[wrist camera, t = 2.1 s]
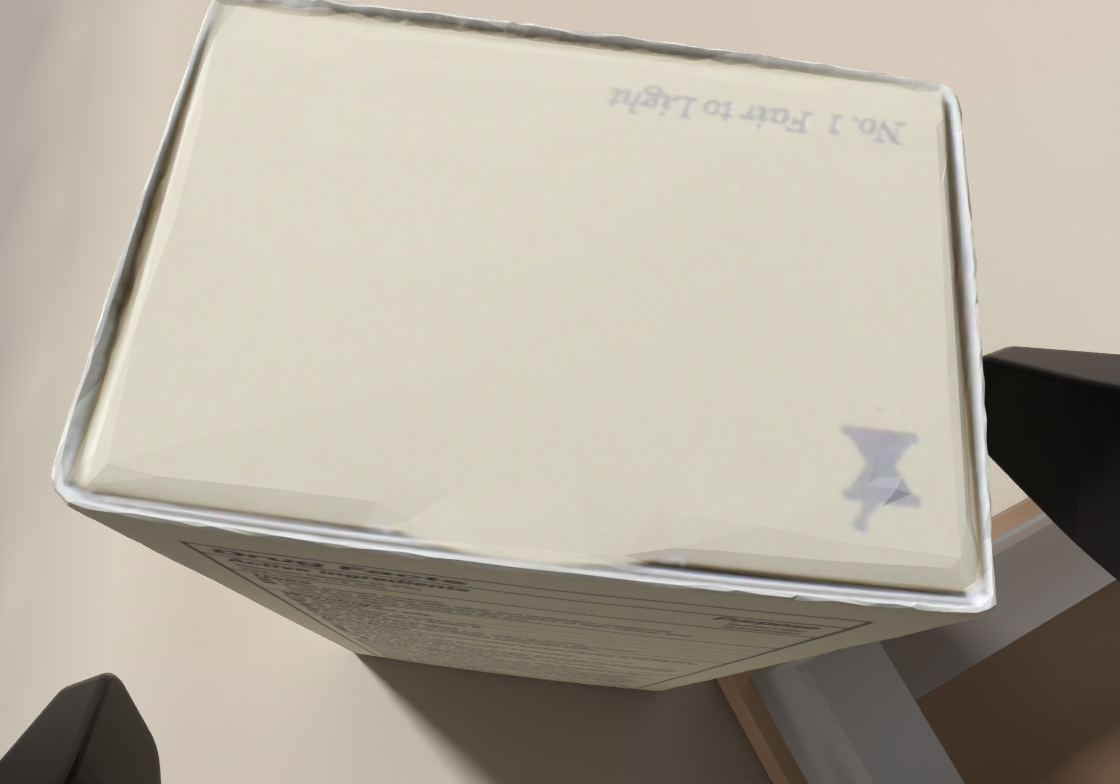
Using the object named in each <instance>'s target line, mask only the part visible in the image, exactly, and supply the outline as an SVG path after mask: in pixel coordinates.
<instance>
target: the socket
mask: <svg viewBox="0 0 1120 784" xmlns="http://www.w3.org/2000/svg"><path fill="white" fill-rule="evenodd" d="M991 544H992V555H993V566H994V576H995V589H996V603H997V604H996V608H995V609H994V610H992V611H991V612H990V613H988V614H987V615H985V616H983V617H980V618H977V619H973V620H968V621H964V622H959V623H954V624H950V625H945V626H941V627H937V628H933V629H928V630H924V631H920V632H916V633H912V634H909V635H905V636H901V637H896V638H891V639H886V640H881V641H877V642H872V643H867V644H862V645H857V646H852V647H847V648H842V649H838V650H835V651H832V652H829V653H825V654H820V655H815V656H810V657H807V658H803V659H799V660H794V661H789V662H785V663H780V664H776V665H772V666H768V667H764V668H759V669H753V670H749V671H745V672H741V673H737V674H733V675H728V676H724V677H721V678H716V680H717V682H718V684H719V685H720V687H721V689H722V691H723V693H724V695H725V697H726V698H727V700H728V702H729V704H730V706H731V708H732V709H733V711H734V713H735V715H736V717H737V719H738V721H739V722H740V724H741V726H742V728H743V730H744V732H745V734H746V735H747V737H748V739H749V741H750V743H751V745H752V747H753V748H754V750H755V752H756V754H757V756H758V758H759V760H760V761H761V763H762V765H763V767H764V769H765V771H766V773H767V774H768V776H769V778H770V780H771V782H772V784H1120V582H1119V581H1118V580H1117V579H1115V578H1114V577H1113V576H1112V575H1111V574H1109V573H1108V572H1107V571H1106V570H1105V569H1104V568H1102V567H1101V566H1100V565H1099V564H1098V563H1097V562H1095V561H1094V560H1093V559H1092V558H1091V557H1090V556H1088V555H1087V554H1086V553H1085V552H1084V551H1083V550H1082V549H1081V548H1079V547H1078V546H1077V545H1076V544H1075V543H1074V542H1073V541H1072V540H1071V539H1070V538H1069V537H1068V536H1067V535H1066V534H1065V533H1064V532H1063V531H1062V530H1061V529H1060V528H1059V527H1058V526H1057V525H1056V524H1055V523H1054V522H1053V521H1052V520H1051V519H1050V518H1049V517H1048V516H1047V515H1046V514H1045V513H1044V512H1043V511H1042V510H1041V509H1040V508H1039V507H1038V506H1037V505H1036V504H1035V503H1034V502H1033V501H1032V500H1031V499H1030V498H1029V497H1028V498H1027V499H1025V500H1023V501H1021V502H1019V503H1018V504H1016V505H1014V506H1012V507H1010V508H1009V509H1007V510H1005V511H1003V512H1001V513H1000V514H998V515H996V516H994V517H992V518H991Z"/></svg>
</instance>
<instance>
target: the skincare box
mask: <svg viewBox="0 0 1120 784" xmlns="http://www.w3.org/2000/svg"><path fill="white" fill-rule="evenodd" d="M976 266H977V261H976V254H975V247H974V235H973V226H972V215H971V205H970V196H969V186H968V176H967V167H966V157H965V147H964V139H963V132H962V111H961V107H960V104H959V100H958V97H957V96H956V94H955V93H954V91H953V90H952V89H951V88H950V87H948V86H946V85H943V84H939V83H935V82H931V81H927V80H921V79H913V78H906V77H898V76H891V75H886V74H882V73H877V72H872V71H866V70H857V69H851V68H845V67H840V66H834V65H828V64H823V63H817V62H812V61H801V60H795V59H790V58H778V57H770V56H764V55H757V54H751V53H744V52H738V51H732V50H726V49H710V48H705V47H697V46H691V45H687V44H681V43H673V42H664V41H656V40H648V39H642V38H635V37H629V36H623V35H616V34H603V33H591V32H583V31H575V30H567V29H561V28H556V27H551V26H545V25H540V24H535V23H529V24H517V23H514V22H511V21H499V20H492V19H484V18H476V17H469V16H462V15H455V14H448V13H439V12H431V11H424V10H410V9H397V8H390V7H383V6H376V5H369V4H361V3H354V2H344V1H334V0H212V2H211V4H210V5H209V7H208V9H207V12H206V14H205V17H204V20H203V23H202V26H201V29H200V31H199V34H198V36H197V39H196V42H195V45H194V48H193V52H192V55H191V58H190V60H189V63H188V66H187V69H186V71H185V74H184V77H183V80H182V82H181V85H180V88H179V91H178V93H177V96H176V99H175V101H174V104H173V106H172V109H171V112H170V115H169V118H168V121H167V124H166V127H165V130H164V133H163V136H162V139H161V142H160V145H159V147H158V150H157V153H156V155H155V158H154V161H153V163H152V166H151V170H150V173H149V176H148V179H147V181H146V184H145V186H144V189H143V192H142V194H141V197H140V200H139V203H138V206H137V210H136V213H135V216H134V220H133V223H132V226H131V229H130V232H129V234H128V237H127V240H126V242H125V245H124V248H123V251H122V254H121V256H120V259H119V262H118V265H117V268H116V271H115V274H114V276H113V279H112V282H111V285H110V288H109V291H108V294H107V296H106V300H105V303H104V306H103V309H102V313H101V316H100V319H99V322H98V326H97V329H96V332H95V335H94V339H93V342H92V345H91V348H90V352H89V355H88V358H87V361H86V365H85V368H84V371H83V374H82V376H81V379H80V382H79V384H78V387H77V390H76V393H75V396H74V399H73V402H72V405H71V408H70V411H69V414H68V417H67V421H66V424H65V427H64V430H63V433H62V437H61V440H60V443H59V447H58V450H57V453H56V456H55V460H54V463H53V467H52V473H51V480H52V483H53V487H54V490H55V491H56V492H57V493H58V495H59V496H60V497H61V498H62V500H63V501H64V502H65V503H66V504H67V506H69V507H71V508H73V509H74V510H76V511H78V512H80V513H82V514H84V515H85V516H87V517H89V518H92V519H94V520H96V521H98V522H100V523H102V524H104V525H106V526H108V527H109V528H111V529H113V530H115V531H117V532H119V533H121V534H123V535H125V536H127V537H128V538H130V539H133V540H135V541H137V542H140V543H141V544H143V545H145V546H147V547H148V548H150V549H152V550H154V551H156V552H158V553H160V554H162V555H164V556H166V557H168V558H170V559H172V560H174V561H176V562H178V563H180V564H182V565H184V566H186V567H188V568H190V569H192V570H194V571H196V572H198V573H200V574H202V575H204V576H206V577H209V578H211V579H213V580H215V581H216V582H218V583H220V584H222V585H224V586H226V587H228V588H230V589H232V590H234V591H235V592H237V593H239V594H242V595H243V596H245V597H247V598H249V599H251V600H253V601H255V602H257V603H258V604H260V605H262V606H264V607H266V608H268V609H270V610H272V611H274V612H276V613H278V614H279V615H281V616H283V617H285V618H287V619H289V620H291V621H293V622H295V623H297V624H299V625H301V626H303V627H305V628H307V629H309V630H311V631H313V632H315V633H317V634H319V635H321V636H323V637H325V638H327V639H329V640H331V641H333V642H335V643H337V644H339V645H341V646H342V647H344V648H346V649H348V650H350V651H352V652H355V653H357V654H364V655H371V656H378V657H384V658H390V659H397V660H403V661H410V662H417V663H423V664H430V665H437V666H444V667H452V668H459V669H467V670H474V671H482V672H489V673H497V674H505V675H514V676H522V677H530V678H538V679H545V680H554V681H563V682H572V683H580V684H589V685H600V686H610V687H620V688H630V689H641V690H651V691H663V690H667V689H671V688H676V687H680V686H684V685H689V684H693V683H697V682H701V681H707V680H712V679H715V678H721V677H724V676H728V675H733V674H737V673H741V672H745V671H749V670H753V669H759V668H764V667H768V666H772V665H776V664H780V663H785V662H789V661H794V660H799V659H803V658H807V657H810V656H815V655H820V654H825V653H829V652H832V651H835V650H838V649H842V648H847V647H852V646H857V645H862V644H867V643H872V642H877V641H881V640H886V639H891V638H896V637H901V636H905V635H909V634H912V633H916V632H920V631H924V630H928V629H933V628H937V627H941V626H945V625H950V624H954V623H959V622H964V621H968V620H973V619H977V618H980V617H983V616H985V615H987V614H988V613H990V612H991V611H992V610H994V609H995V608H996V604H997V603H996V589H995V576H994V566H993V555H992V544H991V495H990V485H989V460H988V451H987V443H986V433H987V417H986V411H985V405H984V398H985V381H984V373H983V363H982V350H981V338H980V325H979V310H978V299H977V283H976Z"/></svg>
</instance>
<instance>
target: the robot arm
mask: <svg viewBox="0 0 1120 784" xmlns="http://www.w3.org/2000/svg"><path fill="white" fill-rule="evenodd" d="M982 363H983V373H984V381H985V398H984V405H985V411H986V417H987V433H986V443H987V451H988V455H989V456H990V457H991V458H992V459H993V460H994V461H995V462H996V464H997V465H998V466H999V467H1000V468H1001V469H1002V470H1003V471H1004V472H1005V473H1006V474H1007V475H1008V476H1009V477H1010V478H1011V479H1012V480H1013V481H1014V482H1015V483H1016V484H1017V485H1018V486H1019V487H1020V488H1021V489H1022V490H1023V491H1024V492H1025V493H1026V494H1027V495H1028V496H1029V498H1030V499H1031V500H1032V501H1033V502H1034V503H1035V504H1036V505H1037V506H1038V507H1039V508H1040V509H1041V510H1042V511H1043V512H1044V513H1045V514H1046V515H1047V516H1048V517H1049V518H1050V519H1051V520H1052V521H1053V522H1054V523H1055V524H1056V525H1057V526H1058V527H1059V528H1060V529H1061V530H1062V531H1063V532H1064V533H1065V534H1066V535H1067V536H1068V537H1069V538H1070V539H1071V540H1072V541H1073V542H1074V543H1075V544H1076V545H1077V546H1078V547H1079V548H1081V549H1082V550H1083V551H1084V552H1085V553H1086V554H1087V555H1088V556H1090V557H1091V558H1092V559H1093V560H1094V561H1095V562H1097V563H1098V564H1099V565H1100V566H1101V567H1102V568H1104V569H1105V570H1106V571H1107V572H1108V573H1109V574H1111V575H1112V576H1113V577H1114V578H1115V579H1117V580H1118V581H1119V582H1120V355H1119V354H1107V353H1094V352H1081V351H1068V350H1056V349H1043V348H1030V347H1017V346H1012V347H1007V348H1003V349H1001V350H998V351H995V352H993V353H990V354H987V355H984V356H982ZM0 784H161V774H160V762H159V756H158V751H157V747H156V744H155V741H154V739H153V736H152V734H151V732H150V731H149V729H148V727H147V725H146V724H145V722H144V720H143V718H142V716H141V715H140V713H139V711H138V709H137V707H136V706H135V704H134V702H133V700H132V699H131V697H130V695H129V693H128V691H127V690H126V688H125V686H124V684H123V683H122V681H121V680H120V679H119V678H118V677H117V676H116V675H114V674H111V673H103V674H100V675H97V676H95V677H92V678H89V679H86V680H84V681H81V682H78V683H75V684H72V685H70V686H67V687H65V688H64V689H62V690H61V691H60V692H59V693H58V694H57V695H56V696H55V697H54V699H53V700H52V701H51V702H50V703H49V704H48V705H47V707H46V708H45V709H44V710H43V711H42V712H41V714H40V715H39V716H38V717H37V718H36V719H35V721H34V722H33V723H32V724H31V725H30V726H29V727H28V729H27V730H26V731H25V732H24V733H23V734H22V736H21V737H20V738H19V739H18V740H17V741H16V743H15V744H14V745H13V746H12V747H11V748H10V749H9V751H8V752H7V753H6V754H5V755H4V756H3V758H2V759H1V760H0Z"/></svg>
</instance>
